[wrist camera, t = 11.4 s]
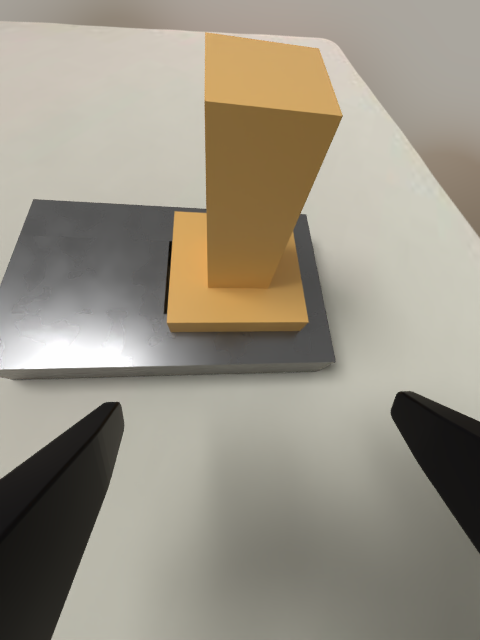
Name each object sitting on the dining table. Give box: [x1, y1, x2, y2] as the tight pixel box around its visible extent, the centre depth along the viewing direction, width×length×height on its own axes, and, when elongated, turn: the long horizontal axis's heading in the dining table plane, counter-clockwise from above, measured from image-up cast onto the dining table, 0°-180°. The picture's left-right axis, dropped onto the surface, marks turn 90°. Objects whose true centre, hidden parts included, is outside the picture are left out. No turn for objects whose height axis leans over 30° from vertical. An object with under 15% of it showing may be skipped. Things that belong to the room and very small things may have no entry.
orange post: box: [167, 32, 343, 332], centre depth 13 cm, size 8×8×13 cm
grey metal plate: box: [0, 199, 336, 380], centre depth 17 cm, size 12×20×3 cm, turn 93°
